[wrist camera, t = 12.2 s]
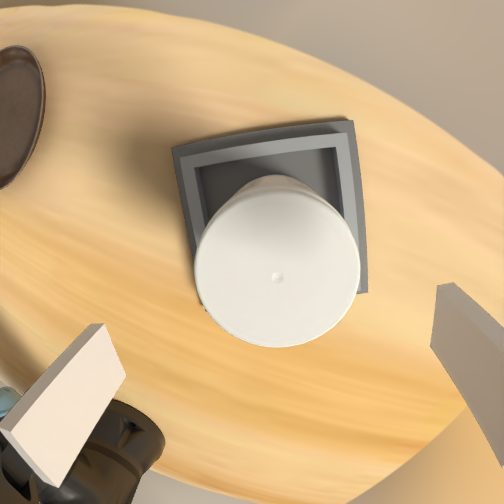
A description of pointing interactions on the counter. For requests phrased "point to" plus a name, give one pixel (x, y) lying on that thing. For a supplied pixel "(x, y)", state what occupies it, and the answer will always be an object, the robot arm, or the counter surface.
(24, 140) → the plant saucer
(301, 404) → the counter surface
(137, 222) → the counter surface
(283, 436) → the counter surface
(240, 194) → the supplement tub
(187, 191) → the board
